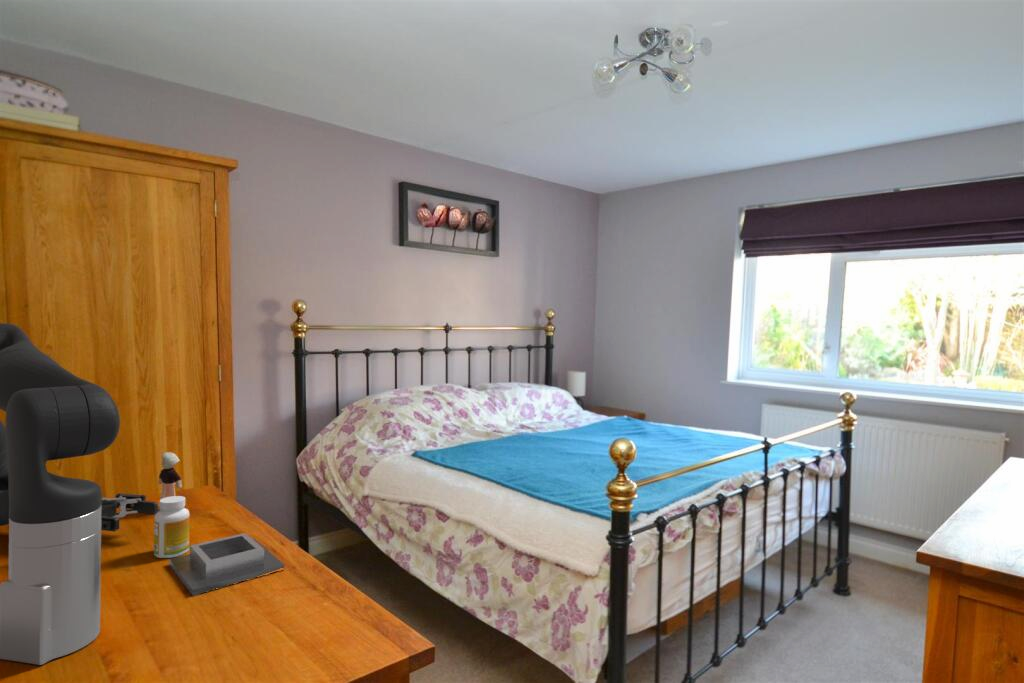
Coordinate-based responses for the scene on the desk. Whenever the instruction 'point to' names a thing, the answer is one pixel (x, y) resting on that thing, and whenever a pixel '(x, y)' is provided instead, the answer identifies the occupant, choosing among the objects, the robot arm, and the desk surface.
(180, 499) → the supplement bottle
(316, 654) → the desk surface
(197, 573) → the socket plate
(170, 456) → the grandmother figurine
